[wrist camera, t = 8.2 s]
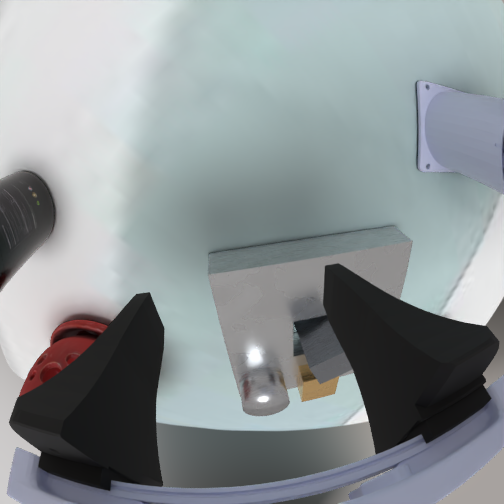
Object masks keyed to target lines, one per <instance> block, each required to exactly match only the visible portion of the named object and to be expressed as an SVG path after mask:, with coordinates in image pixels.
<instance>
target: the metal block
mask: <svg viewBox="0 0 504 504" xmlns="http://www.w3.org/2000/svg"><path fill="white" fill-rule="evenodd" d="M294 325H295V327H296V330H297V333H298V336H299V339H300V342H301V345H302V348H303V351H304V354H305V357H306V360H307V363H308V366H309V369H310V370H311V372H312V373H313V375H314V376H315V378H316V379H317V381H318V382H319V384H322V383H324V382H327V381H329V380H331V379H333V378H336V377H338V376H340V375H342V374H344V373H346V372H348V371H350V370H352V367H351V365H350V362H349V361H348V359H347V357H346V355H345V353H344V351H343V349H342V347H341V345H340V343H339V341H338V339H337V337H336V335H335V333H334V331H333V329H332V327H331V325H330V323H329V320H328V317H327V315H325V316H320V317H315V318H310V319H306V320H300V321H295V322H294Z"/></svg>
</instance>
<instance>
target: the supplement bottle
mask: <svg viewBox="0 0 504 504" xmlns="http://www.w3.org/2000/svg"><path fill="white" fill-rule="evenodd" d="M53 223H54V208H53V203H52V199H51V196H50V194H49V191H48V189H47V188H46V186H45V185H44V183H43V182H42V181H41V180H40V179H39V178H38V177H37V176H35V175H34V174H32V173H29V172H23V171H21V172H16V173H13V174H11V175H9V176H7V177H5V178H3V179H1V180H0V292H1V290H2V289H3V288H4V287H5V285H6V284H7V283H8V282H9V281H10V279H11V278H12V277H13V276H14V275H15V274H16V272H17V271H18V270H19V269H20V268H21V267H22V266H23V264H24V263H25V262H26V261H27V260H28V259H29V258H30V257H31V256H32V255H33V254H34V253H35V252H36V250H37V249H38V248H39V247H40V246H41V245H42V244H43V243H44V242H45V241H46V240H47V238H48V237H49V235H50V233H51V231H52V228H53Z"/></svg>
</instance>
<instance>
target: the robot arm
mask: <svg viewBox="0 0 504 504" xmlns="http://www.w3.org/2000/svg"><path fill="white" fill-rule="evenodd" d="M426 86H427V89H426ZM417 97H418V125H419V140H418V169H419V170H420V171H422V172H458V173H460V174H462V175H465V176H467V177H469V178H471V179H474V180H476V181H478V182H480V183H482V184H484V185H486V186H488V187H490V188H492V189H494V190H496V191H498V192H500V193H502V194H504V99H502V98H497V97H491V96H484V95H477V94H469V93H465V92H462V91H459V90H455V89H452V88H449V87H445V86H442V85H438V84H434V83H431V82H427V81H418V82H417ZM426 165H427V168H426ZM323 306H324V309H325V312H326V315H327V317H328V320H329V323H330V325H331V327H332V329H333V331H334V333H335V335H336V337H337V339H338V341H339V343H340V345H341V347H342V349H343V351H344V353H345V355H346V357H347V359H348V361H349V362H350V365H351V367H352V369H353V371H354V374H355V377H356V380H357V383H358V386H359V389H360V392H361V395H362V398H363V401H364V405H365V408H366V412H367V415H368V419H369V423H370V427H371V432H372V437H373V441H374V447H375V453H376V455H374V456H371V457H368V458H366V459H363V460H360V461H357V462H354V463H352V464H348V465H345V466H342V467H339V468H335V469H332V470H328V471H325V472H321V473H317V474H313V475H308V476H304V477H300V478H295V479H290V480H284V481H279V482H272V483H265V484H258V485H249V486H240V487H226V488H170V487H162V486H163V481H162V476H161V470H160V464H159V457H158V447H157V436H156V434H157V433H156V397H157V388H158V382H159V375H160V369H161V362H162V356H163V350H164V326H163V324H162V322H161V319H160V317H159V315H158V312H157V310H156V307H155V305H154V302H153V300H152V297H151V294H150V292H149V293H141V294H136V295H135V296H134V297H133V298H132V299H131V300H130V302H129V303H128V304H127V305H126V306H125V307H124V308H123V310H122V311H121V312H120V313H119V314H118V315H117V317H116V318H115V319H114V320H113V321H112V322H111V324H110V325H109V326H108V327H107V328H106V329H105V330H104V331H103V333H102V334H101V335H100V336H99V337H98V338H97V339H96V340H95V341H94V342H93V343H92V344H91V345H90V346H89V347H88V348H87V349H86V350H85V351H84V352H83V353H82V354H81V355H80V356H79V357H78V358H77V359H75V360H74V361H73V362H72V363H70V364H69V365H68V366H67V367H65V368H64V369H63V370H62V371H60V372H59V373H58V374H56V375H55V376H54V377H52V378H51V379H49V380H48V381H46V382H45V383H43V384H41V385H40V386H38V387H36V388H35V389H33V390H31V391H29V392H27V393H25V394H23V395H21V396H19V397H18V398H17V401H16V403H15V406H14V409H13V412H12V415H11V418H10V421H9V423H10V426H11V427H12V429H13V430H14V431H15V432H16V433H17V434H19V435H20V436H21V437H22V438H23V439H25V440H26V441H27V442H29V443H30V444H31V445H33V446H34V447H36V448H37V449H38V450H40V451H41V456H40V457H39V456H37V455H35V454H33V453H31V452H28V451H25V450H23V449H21V448H18V447H17V448H16V449H15V454H14V458H13V462H12V467H11V472H10V477H9V483H8V489H7V494H8V496H10V497H11V498H13V499H14V500H16V501H18V502H19V503H21V504H269V503H275V502H282V501H287V500H293V499H297V498H302V497H307V496H311V495H315V494H320V493H323V492H327V491H331V490H334V489H338V488H341V487H344V486H347V485H350V484H353V483H356V482H359V481H362V480H365V479H367V478H370V477H373V476H375V475H378V474H380V473H383V472H385V471H387V470H390V469H392V468H393V469H392V470H390V471H388V472H386V473H384V474H382V475H380V476H378V477H376V478H373V479H371V480H369V481H367V482H364V483H362V484H361V485H360V487H359V488H358V489H356V490H354V491H352V492H350V493H349V498H350V500H349V501H345V502H342V503H338V504H436V503H437V502H439V501H440V500H441V499H443V498H444V497H446V496H447V495H449V494H450V493H451V492H453V491H454V490H456V489H457V488H458V487H459V486H461V485H462V484H463V483H465V482H466V481H467V480H468V479H469V478H470V477H472V476H473V475H474V474H476V473H477V472H478V471H479V470H480V469H481V468H482V467H484V466H485V465H486V464H487V463H488V462H489V461H490V460H491V459H492V458H493V457H494V456H495V455H496V454H497V453H498V452H499V451H500V450H501V449H502V448H503V447H504V375H503V376H502V377H500V378H499V379H498V380H497V381H495V382H494V383H493V384H492V385H490V386H489V387H488V388H487V389H485V387H484V386H483V384H484V383H485V382H486V379H485V378H484V376H483V375H482V374H483V372H484V371H485V370H486V368H487V367H488V365H489V364H490V362H491V361H492V360H493V358H494V356H495V355H496V353H497V351H498V348H499V341H498V339H497V338H496V337H495V336H494V334H493V333H492V332H491V331H490V330H489V328H488V327H487V326H482V325H476V324H470V323H464V322H460V321H456V320H452V319H448V318H445V317H441V316H438V315H435V314H433V313H430V312H427V311H424V310H422V309H419V308H417V307H415V306H412V305H410V304H408V303H406V302H403V301H401V300H399V299H397V298H396V297H394V296H392V295H390V294H388V293H386V292H385V291H383V290H381V289H380V288H378V287H376V286H374V285H373V284H371V283H370V282H368V281H366V280H365V279H363V278H362V277H360V276H359V275H357V274H355V273H354V272H352V271H351V270H349V269H348V268H346V267H344V266H343V265H341V264H339V263H337V264H331V265H326V266H325V274H324V293H323Z"/></svg>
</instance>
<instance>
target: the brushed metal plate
mask: <svg viewBox="0 0 504 504" xmlns="http://www.w3.org/2000/svg"><path fill="white" fill-rule="evenodd" d="M411 247H412V240H411V239H410V238H408V237H407V236H406V235H405V234H403V233H402V232H401V231H400V230H398V229H397V228H396V227H395V226H389V227H382V228H375V229H368V230H361V231H354V232H347V233H341V234H334V235H327V236H320V237H314V238H307V239H300V240H293V241H287V242H280V243H273V244H267V245H260V246H254V247H247V248H241V249H234V250H227V251H221V252H214V253H209V265H208V276H209V280H210V285H211V289H212V293H213V297H214V301H215V305H216V309H217V313H218V317H219V321H220V325H221V329H222V333H223V337H224V340H225V344H226V348H227V351H228V355H229V359H230V362H231V366H232V369H233V373H234V376H235V380H236V383H237V387H238V390H239V394H240V397H241V398H242V407H243V411H244V412H245V413H247V414H249V415H253V416H267V415H272V414H276V413H278V412H280V411H282V410H284V409H285V408H286V407H287V406H288V405H289V402H290V401H289V397H288V393H287V389H290V388H295V387H298V390H299V393H300V397H301V400H302V402H304V401H308V400H312V399H316V398H320V397H324V396H328V395H332V394H335V391H336V387H337V383H338V379H339V377H341V376H344V375H348V374H351V373H354V371H353V369H352V370H350V371H348V372H346V373H344V374H342V375H340V376H338V377H336V378H333V379H331V380H329V381H327V382H324V383H322V384H319V382H318V381H317V379H316V378H315V376H314V375H313V373H312V372H311V370H310V369H309V366H308V363H307V360H306V357H305V354H304V351H303V348H302V345H301V342H300V339H299V336H298V333H297V332H296V333H293V322H295V321H300V320H306V319H310V318H315V317H320V316H325V315H326V312H325V309H324V306H323V293H324V274H325V266H326V265H331V264H337V263H339V264H341V265H343V266H344V267H346V268H348V269H349V270H351V271H352V272H354V273H355V274H357V275H359V276H360V277H362V278H363V279H365V280H366V281H368V282H370V283H371V284H373V285H374V286H376V287H378V288H380V289H381V290H383V291H385V292H386V293H388V294H390V295H392V296H394V297H396V298H397V299H399V300H400V297H401V293H402V289H403V285H404V281H405V276H406V272H407V267H408V262H409V258H410V252H411Z"/></svg>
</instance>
